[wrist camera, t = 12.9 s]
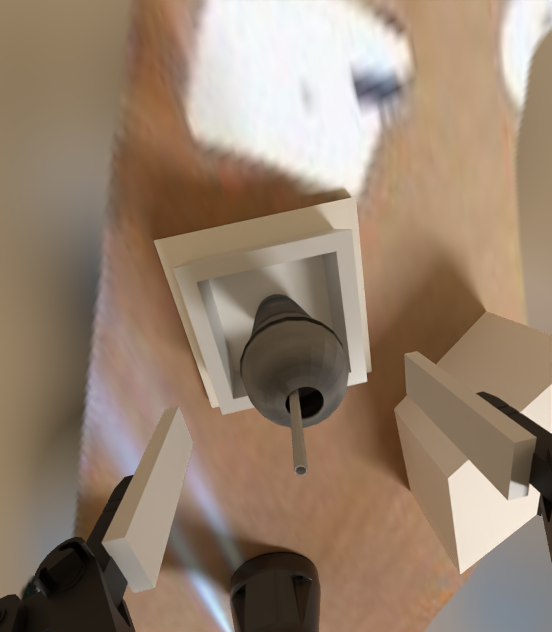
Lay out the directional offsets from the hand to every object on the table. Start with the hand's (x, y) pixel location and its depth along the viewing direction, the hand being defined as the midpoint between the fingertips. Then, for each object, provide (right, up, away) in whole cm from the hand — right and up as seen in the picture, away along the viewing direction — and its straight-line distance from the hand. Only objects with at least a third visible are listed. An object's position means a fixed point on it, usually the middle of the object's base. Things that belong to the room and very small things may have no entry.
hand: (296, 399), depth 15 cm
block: (+22, -9, +22) cm, 32 cm away
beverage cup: (-1, +5, +14) cm, 15 cm away
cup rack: (-1, +5, +15) cm, 16 cm away
